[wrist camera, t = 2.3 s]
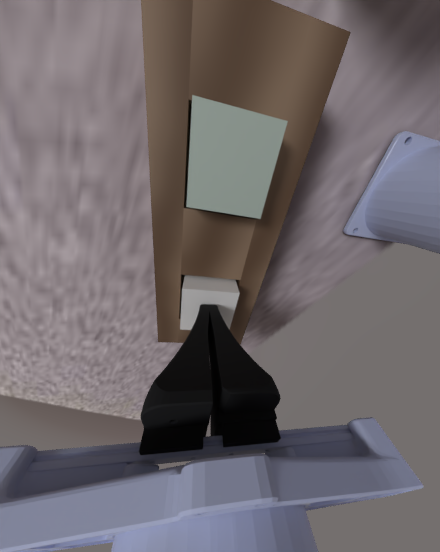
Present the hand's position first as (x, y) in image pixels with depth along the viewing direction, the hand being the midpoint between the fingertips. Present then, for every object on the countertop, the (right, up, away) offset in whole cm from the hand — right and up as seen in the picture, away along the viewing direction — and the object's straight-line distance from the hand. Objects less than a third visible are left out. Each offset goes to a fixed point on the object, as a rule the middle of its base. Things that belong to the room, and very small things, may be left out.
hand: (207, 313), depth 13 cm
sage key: (+1, +10, -2) cm, 10 cm away
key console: (0, +7, +2) cm, 8 cm away
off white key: (0, +2, +3) cm, 3 cm away
